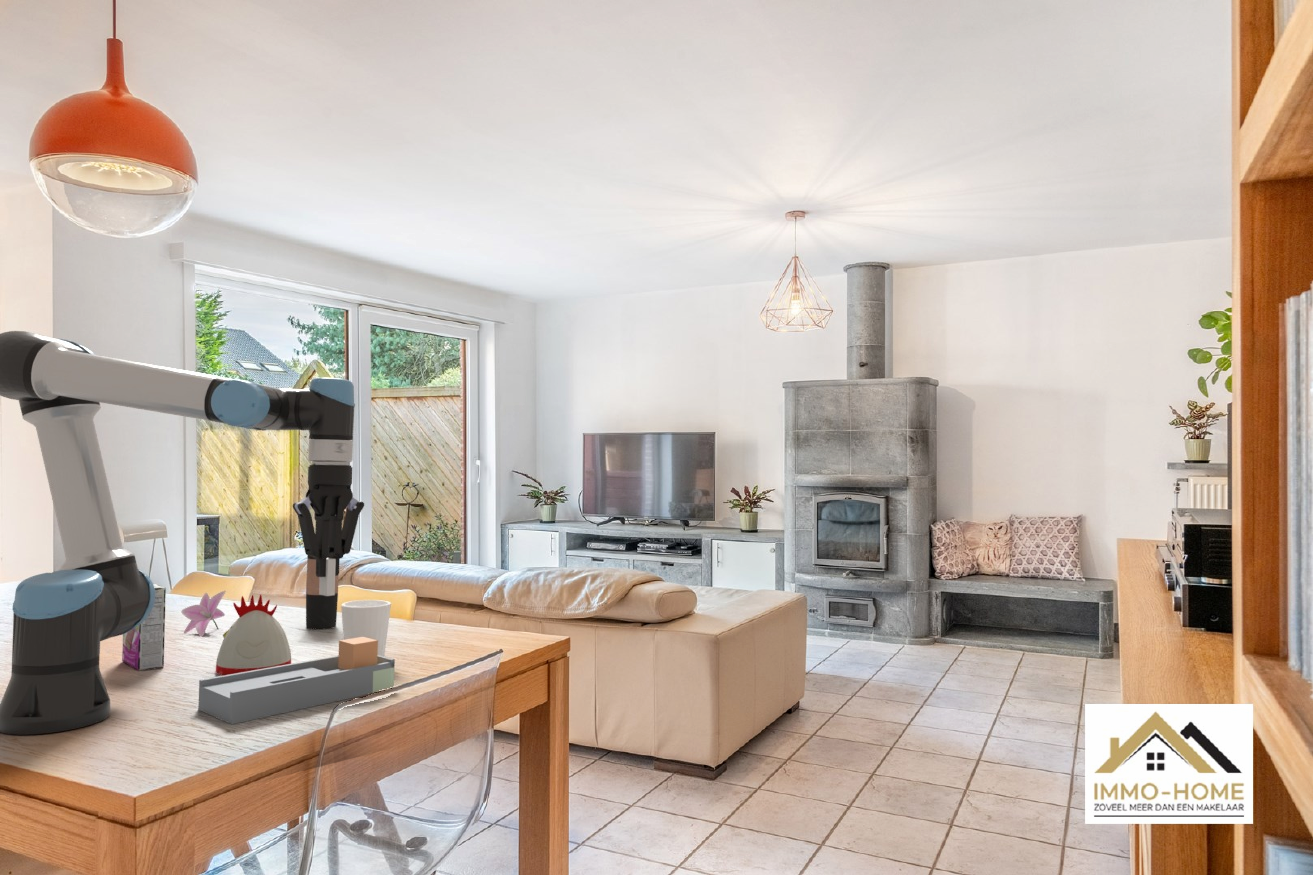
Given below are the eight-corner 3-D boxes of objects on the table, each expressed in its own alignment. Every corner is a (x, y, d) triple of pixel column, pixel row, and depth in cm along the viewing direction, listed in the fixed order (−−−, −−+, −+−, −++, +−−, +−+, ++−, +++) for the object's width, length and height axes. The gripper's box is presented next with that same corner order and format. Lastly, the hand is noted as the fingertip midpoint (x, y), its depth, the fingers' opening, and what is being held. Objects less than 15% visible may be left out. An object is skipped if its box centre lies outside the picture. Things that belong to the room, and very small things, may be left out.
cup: (330, 664, 180) (332, 602, 180) (374, 656, 187) (375, 598, 187) (354, 672, 173) (356, 608, 173) (398, 664, 180) (399, 603, 181)
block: (352, 671, 157) (353, 644, 157) (338, 667, 160) (338, 640, 160) (377, 667, 161) (377, 640, 161) (362, 662, 164) (363, 636, 164)
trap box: (231, 724, 138) (232, 689, 138) (198, 709, 146) (199, 676, 146) (393, 688, 161) (394, 659, 161) (357, 677, 169) (358, 649, 169)
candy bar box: (119, 662, 178) (122, 582, 179) (146, 658, 182) (149, 580, 182) (137, 671, 171) (140, 588, 171) (164, 667, 174) (167, 586, 175)
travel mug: (298, 628, 216) (301, 549, 217) (315, 623, 224) (317, 546, 224) (326, 630, 215) (329, 550, 216) (342, 624, 223) (345, 547, 223)
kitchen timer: (219, 663, 179) (222, 591, 179) (291, 659, 184) (293, 588, 185) (212, 679, 166) (215, 601, 167) (290, 674, 171) (292, 598, 172)
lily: (180, 633, 214) (167, 602, 210) (228, 610, 221) (217, 580, 216) (196, 655, 206) (183, 624, 202) (245, 631, 213) (234, 600, 208)
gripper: (307, 463, 148) (303, 601, 147) (374, 464, 158) (370, 593, 157) (285, 463, 153) (281, 596, 152) (351, 463, 163) (348, 588, 162)
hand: (326, 594), depth 155 cm, fingers closed
